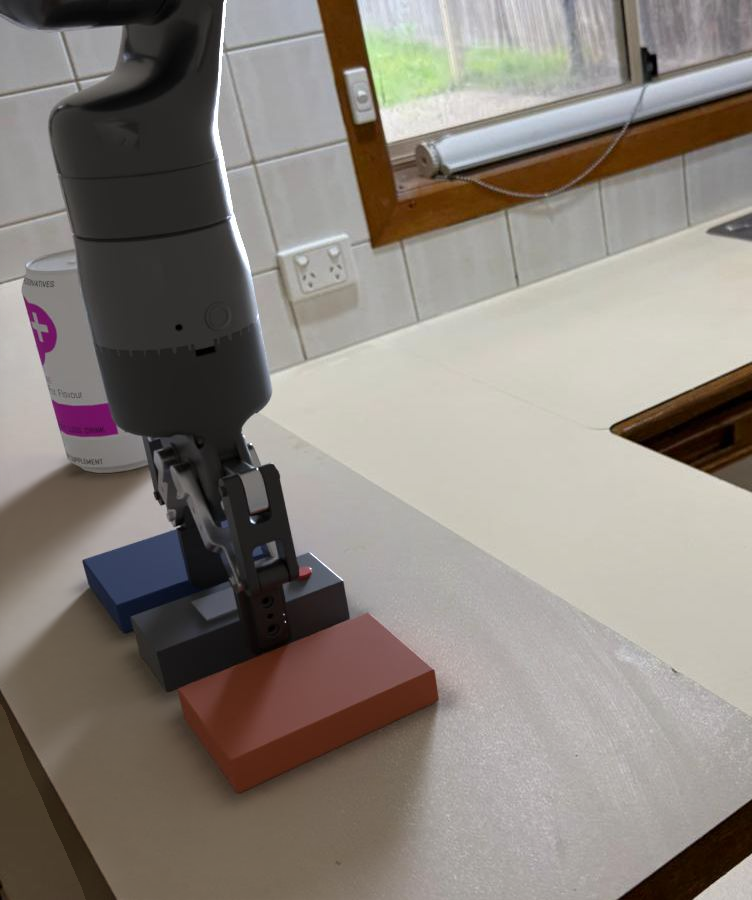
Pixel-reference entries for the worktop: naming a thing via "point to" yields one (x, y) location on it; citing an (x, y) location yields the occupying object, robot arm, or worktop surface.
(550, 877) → the worktop surface
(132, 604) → the blue flat block
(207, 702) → the red rectangular block
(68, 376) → the supplement can
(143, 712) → the worktop surface
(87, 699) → the worktop surface
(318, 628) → the remote
